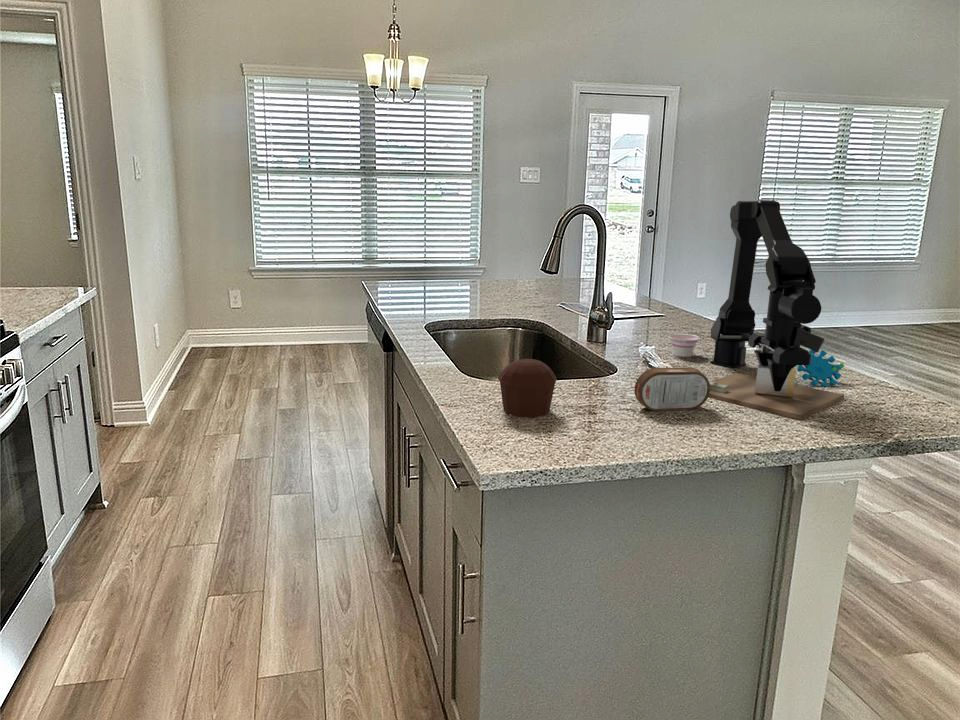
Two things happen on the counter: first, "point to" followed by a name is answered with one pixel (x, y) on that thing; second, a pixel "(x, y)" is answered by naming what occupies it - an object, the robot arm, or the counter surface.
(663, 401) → the tin
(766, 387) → the white box tan top
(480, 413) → the counter surface
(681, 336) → the pink white bowl
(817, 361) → the gear
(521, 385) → the muffin
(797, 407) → the base
